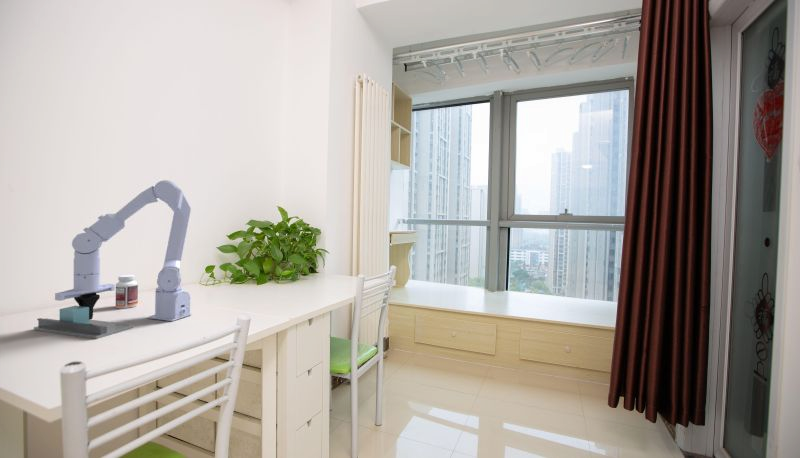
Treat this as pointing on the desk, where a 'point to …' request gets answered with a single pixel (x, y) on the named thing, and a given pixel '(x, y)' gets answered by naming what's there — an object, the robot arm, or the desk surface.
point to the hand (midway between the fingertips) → (86, 319)
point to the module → (75, 314)
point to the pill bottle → (126, 292)
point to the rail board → (95, 322)
